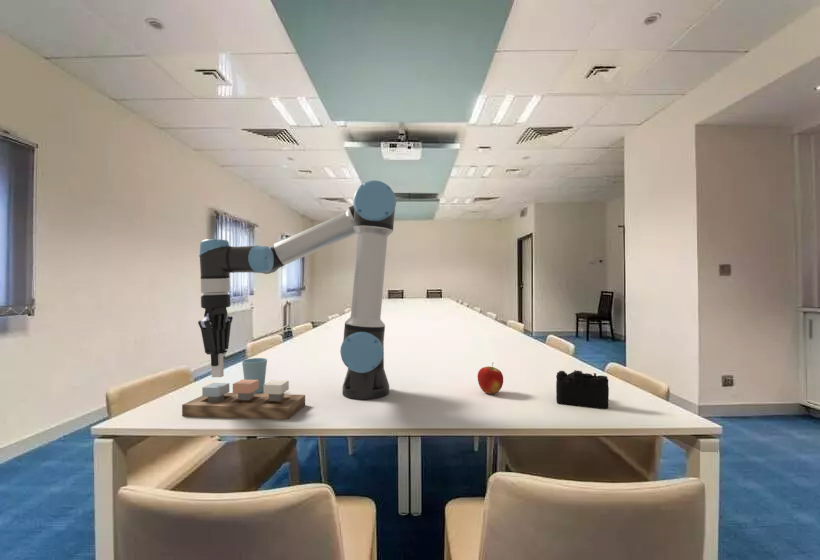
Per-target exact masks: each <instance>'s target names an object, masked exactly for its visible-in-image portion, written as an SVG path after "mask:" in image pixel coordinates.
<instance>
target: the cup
mask: <svg viewBox="0 0 820 560" xmlns="http://www.w3.org/2000/svg"><path fill="white" fill-rule="evenodd" d="M267 363H268V359H267V358H263V357H255V358H247V359H243V360H242V361H241V364H242V365H241V366H242V372H243V380H259V389H257V390H255V391H254V393H255V394H262V393H264V384H266V381H265V380H266V374H267V373H266V372H267V365H268V364H267Z"/></svg>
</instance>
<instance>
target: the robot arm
mask: <svg viewBox="0 0 820 560" xmlns="http://www.w3.org/2000/svg"><path fill="white" fill-rule="evenodd" d="M352 204H353V205H350V206H348V207H347V209H346V211H344V212H343V213H340V214H339V215H336V216H334V217H333V218H329V219H328V220H324V221H323V222H321V223H319V224H316V225H314V226H312V227H309V228H307V229H305V230H302V231H300V232H299V233H296V234H293V235H291V236H289V237H286V238H285V239H282V240H279V241H278V242H275V243H274V244H271V245H269V246H267V245H249V246H248V245H247V246H246V245H245V246H231V245H230V243H229V240H226V239H219V238H218V239H212V238H208V239H203V240H201V242H200V244H199V246H200V247H199V255H198V257H199V267H200V268H199V269H200V292H201V294H202V295H201V296H200V308H202V309H204V313H203V316H204V317H203V319H201V320H200V319H199V320H198V322H197V324H198V326H199V329H200V332H201V337H202V343H203V348H204V353H205V354H206V355H210V364H211V365H210V367H211V368H210V369H211V378H223V377H224V376H225V375H224V374H225V373H224V372H225V369H224V362H225V361H224V360H225V359H224V354H225V353H227V352H228V349H229V345H230V336H231V326H232V322H233V319H234V317H233V315H232V316H229V315H228V310H227V308H230V307H231V295H230V294H229V293H230V292H231V281H230V280H231V279H230V277H231V274H230V273H232V274H234V273H253V274H254V273H255V274H256V273H258V274H265V275H269V274H271V273H272V274H273V273H275V272H277V270H278V269H281V268H282V267H285V266H286V265H288V264H291V263H293V262H296V261H297V260H300V259H302V258H304V257H306V256H309V255H311V254H314V253H315V252H318V251H321V250H322V249H325V248H327V247H329V246H332V245H333V244H336V243H338V242H340V241H342V240H345V239H347V238H350V237H351V236H354V235H357V241H356V251H355V253H356V254H355V263H354V273H353V274H354V275H353V287H352V297H351V309H350V311H351V312H350V317H349V318H348V319H347V320H346V321H344V327H343V330H344V331H343V340H342V343H341V345H340V351H339V352H340V358H341V361H342V363H343V364H344V365H345V367H347V372H346V375H345V376H344V377H345V378H344V381H343V384H342V388H341V389H342V395H343V396H344V397H346V398H348V399H354V400H373V399H378V398H382V397H385V396H388V395H389V394H390V383H389V381H388V377H387V374H386V370H385V368H384V367H385V365H384V364H385V354H384V353H385V352H384V350H385V348H384V345H385V342H384V340H385V331H386V329H385V328H386V324H385V323H384V322H383V320H382V319H381V314H382V303H383V292H384V279H385V270H386V266H385V265H386V255H387V244H388V237H389V236H390V235H391V234H392V233H393V232H394V224H395V223H394V222H395V212H396V206H397V197H396V195H395V192H394V190H393V189H392V188H391V187H390V185H389V184H387V183H385V182H383V181H381V180H374V179H373V180H368V181H365V182H363V183H362V184H361V185H359V187H357V189H356V190H355V192H354V195H353V199H352Z"/></svg>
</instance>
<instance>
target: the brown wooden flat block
mask: <svg viewBox="0 0 820 560" xmlns="http://www.w3.org/2000/svg"><path fill="white" fill-rule="evenodd" d="M305 406H306V394H291V393H290V394H288V393H287V394H285V393H284V398H283V399H282V400H280V401H269V394H264V393H257V394H255V393H254V397H253V398H251V399H250V400H238V393H233V392H228V393H226V394H224V400H223V401H221V402H208V397H205V396H202V395H200V396H198V397H196V398H193V399H192V400H190V401H188V402H186V403H184V404H181V416H182V417H200V418H202V417H203V418H204V417H206V418H207V417H209V418H231V419H232V418H233V419H234V418H237V419H262V420H265V419H268V420H290V419H291V417H293V416H294V415H296V414H297V413H298V412H299V411H300V410H301V409H303V408H304V407H305Z"/></svg>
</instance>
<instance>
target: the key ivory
mask: <svg viewBox="0 0 820 560" xmlns="http://www.w3.org/2000/svg"><path fill="white" fill-rule="evenodd" d="M289 384H290V382H289V380H279V379H277V380H276V379H275V380H274V379H272V380H270V381H268V382H265V384H264V391H263V394H269V401H280V400H282V399H283V398H284V394H285V393H286V392H287V391H289V390H290V385H289Z"/></svg>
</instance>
